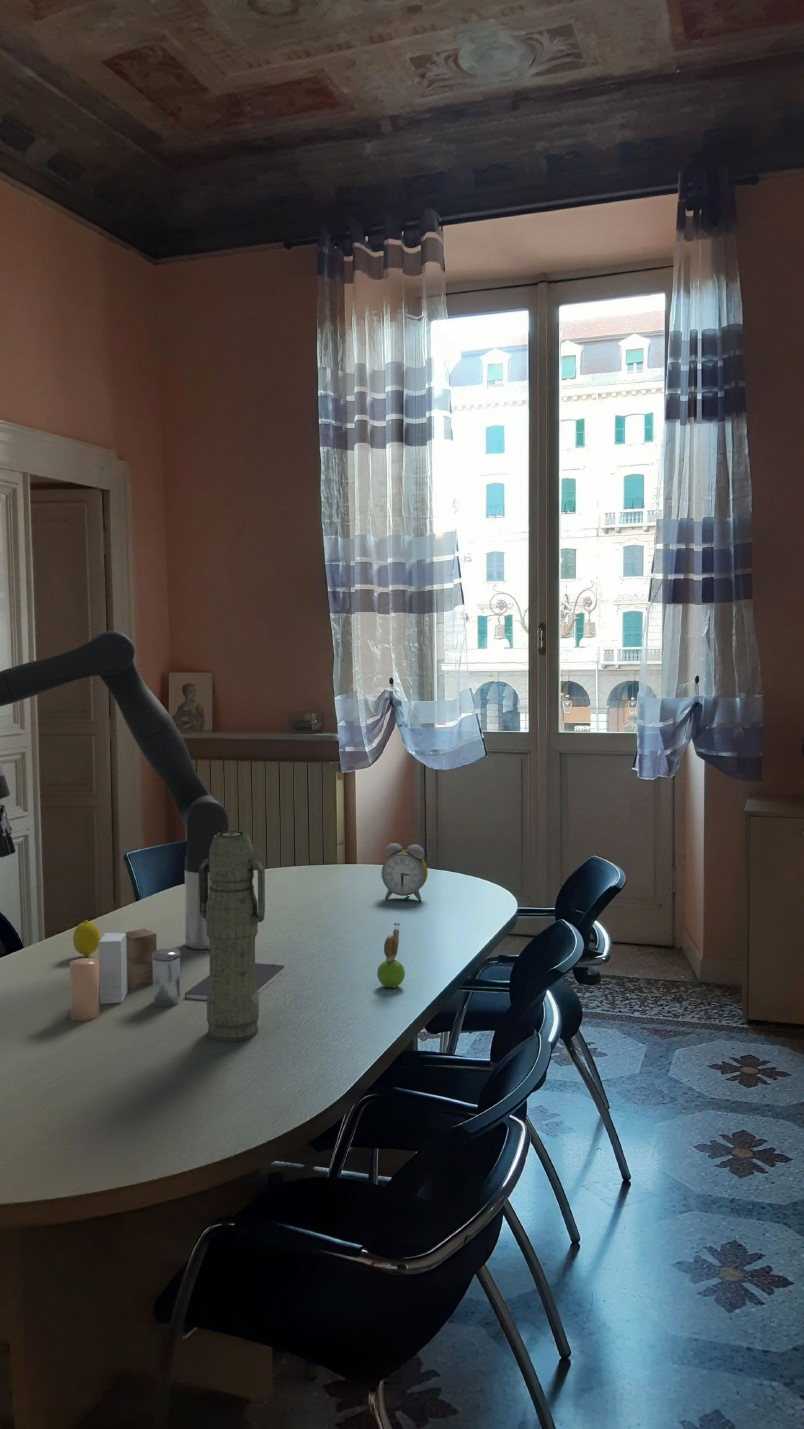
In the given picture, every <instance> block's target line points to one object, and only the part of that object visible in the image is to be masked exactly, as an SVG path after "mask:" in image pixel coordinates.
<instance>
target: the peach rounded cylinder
mask: <svg viewBox="0 0 804 1429" xmlns="http://www.w3.org/2000/svg"><path fill="white" fill-rule="evenodd" d="M69 977H70V978H69V986H70V987H69V988H70V989H69V990H70V992H69V995H70V998H69V999H70V1019H71V1020H72V1021H78V1022H88V1021H92V1020H96V1019H97V1018H99V1017H100V977H99V959H98V958H91V957H83V958H78V959H74V960H71V961H70V962H69Z"/></svg>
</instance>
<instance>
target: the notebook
mask: <svg viewBox="0 0 804 1429" xmlns="http://www.w3.org/2000/svg"><path fill="white" fill-rule="evenodd" d="M284 968H285V965H282V964H273V963H271V964H269V963H259V962H255V985H256V988H257V991H258V994H260V993H261V992H262V991H263V990H264V989H265V988H267V987H268V986H269V985H270V984H271V983H272V982H273V981H275V980H276V979H277V978H278V977H279V976H280V975H281V974H283V973H284V971H285V970H284ZM209 990H210V974H209V975H207V976H206V977H205V978H204V979H202V980H201V981H200V982H198V983H197V984H196V985H194V986H193V987H192V988H190V989H189V990H188V991H186V992H184V998H185V999H192V1000H203V1001H207V996H208V993H209Z"/></svg>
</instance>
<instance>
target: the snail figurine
mask: <svg viewBox="0 0 804 1429" xmlns="http://www.w3.org/2000/svg"><path fill="white" fill-rule="evenodd" d="M393 925H394V929H393V931H392V934H391V935H388V936H387V937H386V939H385V941H384V946H383V952H384V956H386V958H385V960H384V961H383V962H381V963H380V965H379V966H378V968H377V973H376V975H377V978H378V981H379V982H380V984H381V985H382V986H384V987H385V986H387V987H386V988H389V987H393V988H395V987H394V986H397V987H398V986H400V985H401V984H402V983H403V981H404V979H405V976H406V975H405V974H406V973H405V972H406V971H405V968H404V966H403V964H402V963H401V962H399V961H398V960H396V956H397V954H398V949H399V943H400V942H399V940H400V938H399V937H400V930H399V929H400V927H399V926H400V923H399V922H397V923H396V922H394V923H393ZM396 926H397V928H396Z"/></svg>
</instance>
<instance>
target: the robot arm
mask: <svg viewBox="0 0 804 1429" xmlns="http://www.w3.org/2000/svg"><path fill="white" fill-rule="evenodd" d="M134 645H135V644H133V642H132V640H131V638H129V637H128V636H127V635H125V634H124V633H122V632H119V631H115V630H108V631H104V632H100V633H97V634H96V635H94V636H93V637H92V638H91V639H90V640H89V641H88V642H86V643H85V644H82V645H80V646H78V647H76V648H74V649H70V650H69V651H66V652H63V653H59V654H56V655H53V656H49V657H45V658H41V659H37V660H34V661H29V662H25V663H22V664H19V665H18V664H17V665H15V666H12V667H9V668H5V669H3V670H0V707H3V706H7V705H10V704H13V703H17V702H21V701H22V700H25V699H26V700H27V699H28V698H33V697H35V696H37V695H40V694H43V693H45V692H48V691H50V690H52V689H55V688H57V687H58V688H59V687H60V686H63V685H66V684H68V683H72V682H75V681H78V680H83V679H86V678H90V677H96V676H99V677H100V679H101V680H102V682H103V683H104V685H105V686H106V687H107V688H108V690H109V691H110V693H111V695H112V697H113V698H114V700H115V702H116V703H117V706H118V708H119V710H120V712H121V714H122V717H123V719H124V720H125V723H126V724H127V727H128V729H129V731H130V733H131V735H132V737H133V739H134V741H135V742H136V744H137V745H138V747H139V750H141V753H142V755H143V756H144V757H145V759H146V761H147V762H148V764H149V765H150V766H151V768H152V769H153V771H154V772H155V774H156V775H157V777H158V778H159V779H160V780H161V781H162V783H163V785H165V787H166V789H167V790H168V792H169V794H170V796H171V798H172V800H173V803H174V805H175V807H176V810H177V812H178V814H179V817H180V819H181V822H182V824H183V826H184V829H185V830H186V855H185V857H184V913H185V915H184V917H185V918H184V920H185V922H184V923H185V931H184V932H185V935H184V936H185V946H186V947H188V948H189V949H195V950H209V938H208V936H207V928H206V921H205V919H204V918H203V917H202V916H201V914H200V895H199V872H198V868H199V866H200V865H201V863H202V862H203V861H204V860H207V859H209V851H210V847H211V844H212V841H213V837H214V836H215V835H217V834H218V833H220V832H225V831H230V830H229V828H230V827H229V825H230V824H229V816H228V812H227V810H226V808H225V807H224V805H223V804H222V803H220V802H219V801H217V800H216V799H215V798H214V797H213V796H212V794H211V793H210V792H209V790H208V789H207V788H206V786H205V784H204V783H203V781H202V780H201V778H200V777H199V775H198V774H197V772H196V769H195V767H194V765H193V761H192V758H191V755H190V753H189V752H190V751H189V749H188V748H187V745H186V742H185V740H184V738H183V736H182V734H181V731H180V730H179V728H178V726H177V725H176V723H175V721H174V719H173V718H172V716H171V714H170V713H169V712H168V710H167V709H166V708H165V707H164V705H163V704H162V703H161V701H160V700H159V699H158V698H157V697H156V695H155V694H154V693H153V692H152V691H151V689H149V687H148V686H147V684H146V683H145V681H144V680H143V678H142V676H141V674H140V672H139V670H138V668H137V666H136V663H135V661H134V659H135V652H136V651H135V647H134ZM10 795H11V793H10V789H9V786H8V782H7V780H6V776H5V773H4V770H3V767H2V763H1V762H0V801H1V800H2V799H6V798H8V797H9V796H10ZM12 833H13V828H12V827H11V821H10V819H9V817H8V810H7V808H6V805H4V804H1V802H0V858H4V857H5V858H6V857H8V856H10V855H13V854H15V853H16V852H17V850H16V848H15V844H14V841H13V837H12ZM210 886H211V880H210V869H209V866H208V897H209V894H210Z"/></svg>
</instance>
